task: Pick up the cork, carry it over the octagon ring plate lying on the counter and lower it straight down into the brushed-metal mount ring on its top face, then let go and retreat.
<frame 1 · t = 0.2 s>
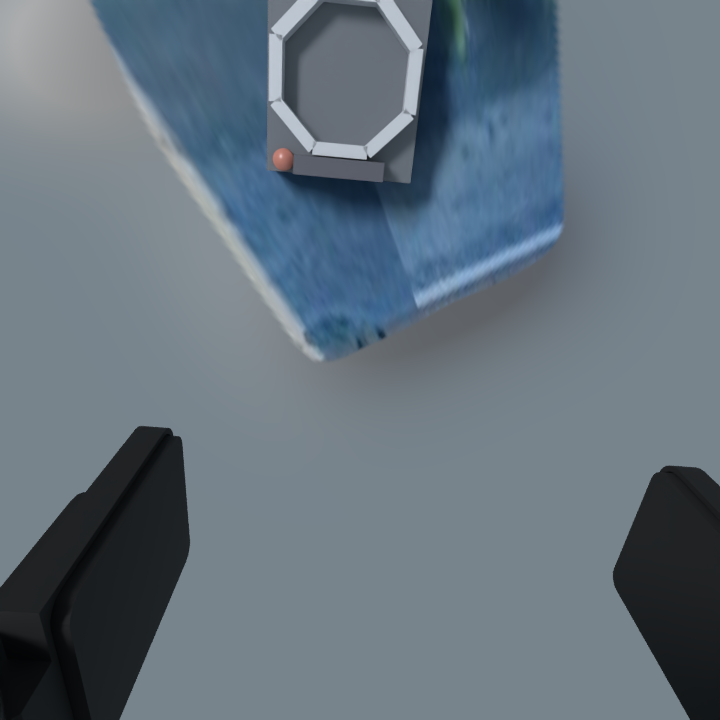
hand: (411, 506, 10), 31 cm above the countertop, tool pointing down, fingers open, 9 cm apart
octagon ring plate: (346, 82, 33), on the countertop
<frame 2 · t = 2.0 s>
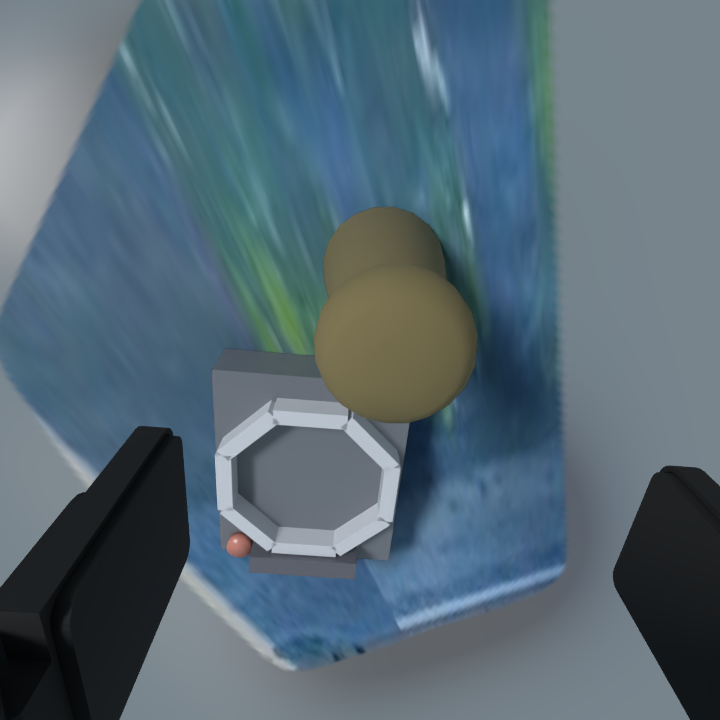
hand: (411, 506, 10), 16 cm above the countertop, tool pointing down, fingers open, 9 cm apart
octagon ring plate: (313, 447, 28), on the countertop
cork: (383, 268, 24), on the countertop
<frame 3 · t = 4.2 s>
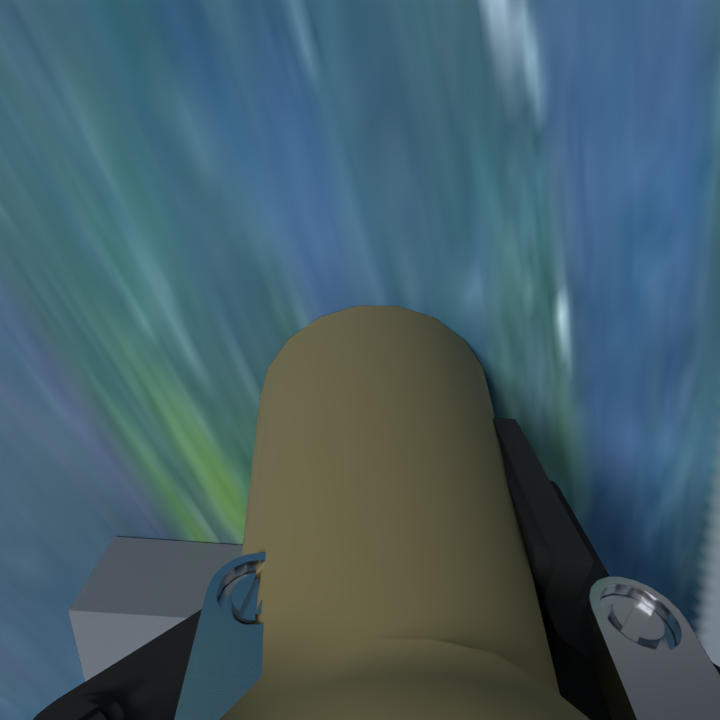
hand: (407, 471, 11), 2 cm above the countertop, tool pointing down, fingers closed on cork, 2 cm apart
octagon ring plate: (278, 673, 17), on the countertop
cork: (374, 410, 13), on the countertop, touching gripper
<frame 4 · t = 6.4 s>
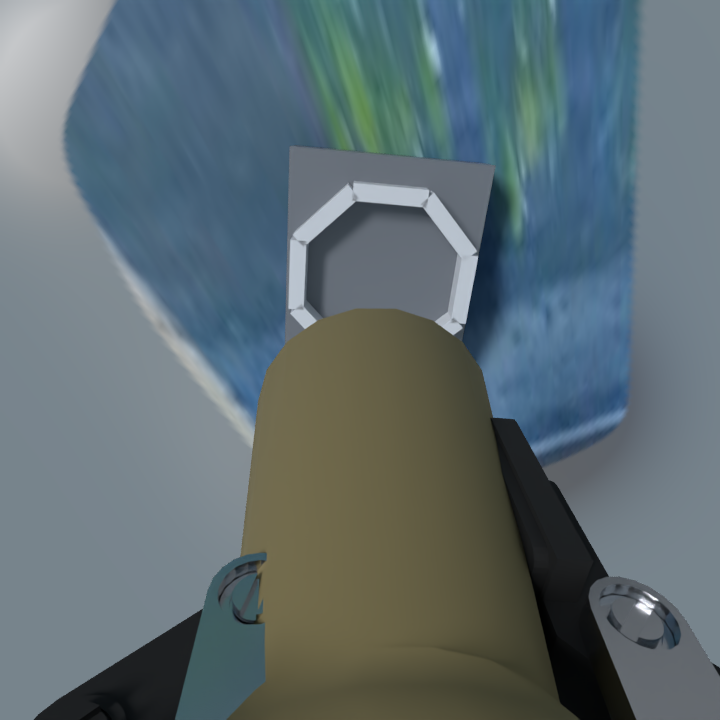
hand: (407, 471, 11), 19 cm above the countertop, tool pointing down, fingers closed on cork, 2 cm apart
octagon ring plate: (378, 265, 28), on the countertop
cork: (373, 413, 13), point 17 cm above the countertop, touching gripper
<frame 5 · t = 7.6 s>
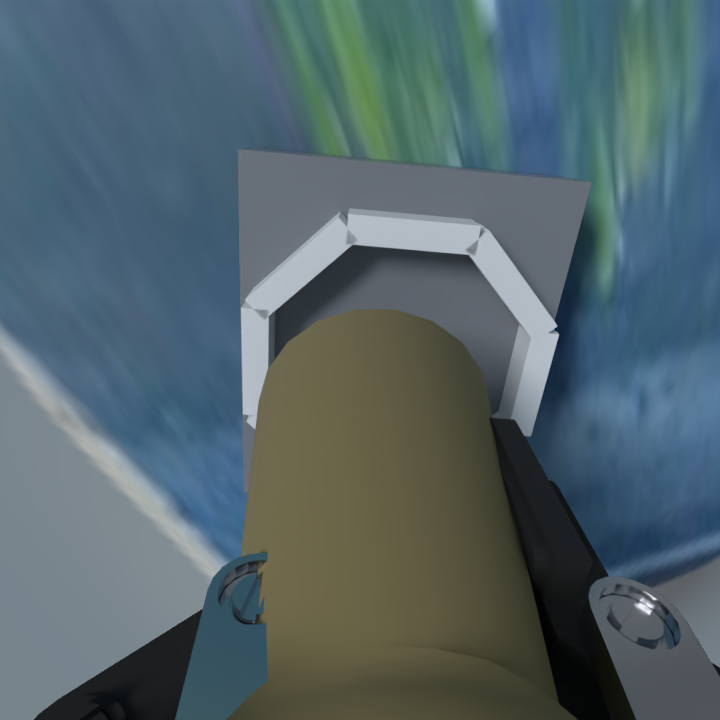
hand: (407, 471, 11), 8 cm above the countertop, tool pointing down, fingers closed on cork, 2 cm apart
octagon ring plate: (388, 332, 18), on the countertop
cork: (373, 413, 13), point 6 cm above the countertop, touching gripper
when the fingers open (6 cm above the countertop, at t = 8.3 s): cork stays where it is, resting on octagon ring plate.
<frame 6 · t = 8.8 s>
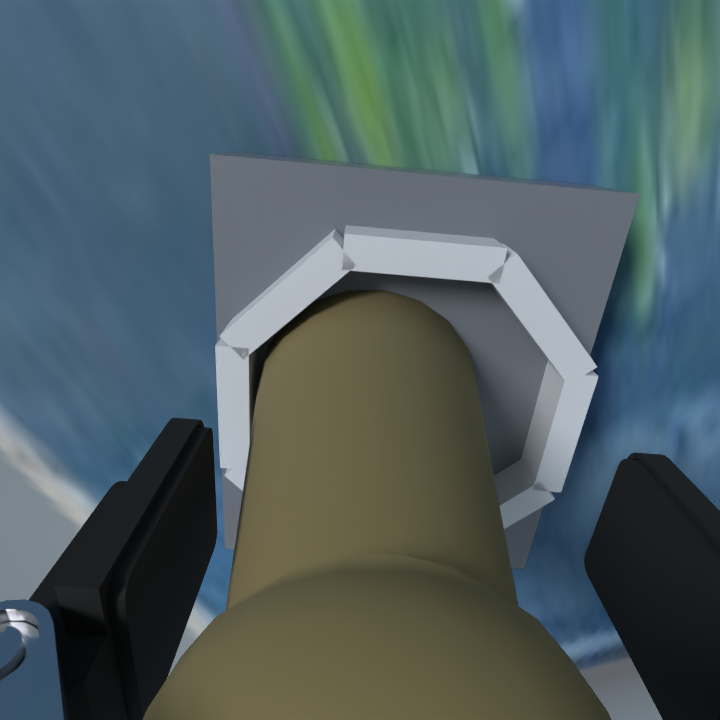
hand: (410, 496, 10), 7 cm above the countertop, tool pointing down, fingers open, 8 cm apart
octagon ring plate: (392, 364, 16), on the countertop
cork: (367, 390, 14), point 2 cm above the countertop, touching octagon ring plate
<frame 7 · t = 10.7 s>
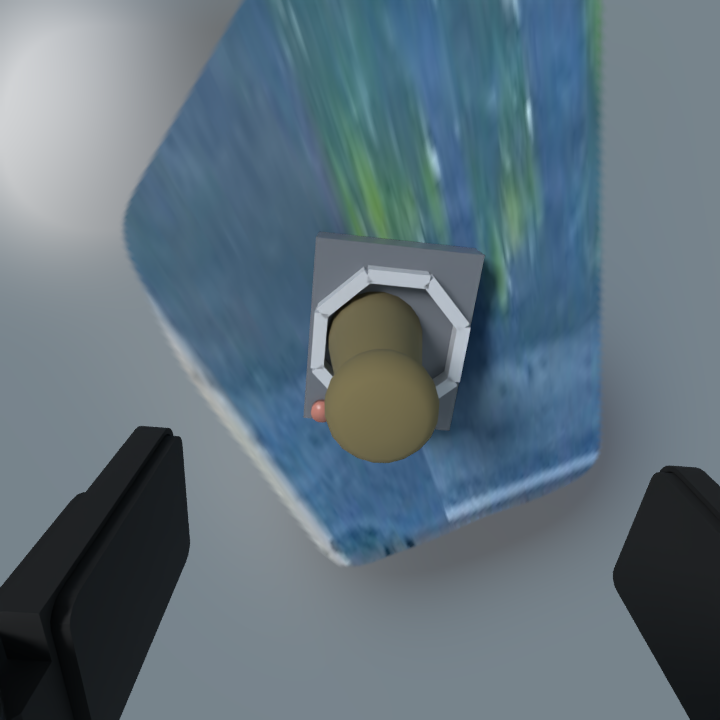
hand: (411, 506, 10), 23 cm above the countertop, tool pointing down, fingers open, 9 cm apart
octagon ring plate: (385, 329, 33), on the countertop
cork: (374, 336, 31), point 2 cm above the countertop, touching octagon ring plate
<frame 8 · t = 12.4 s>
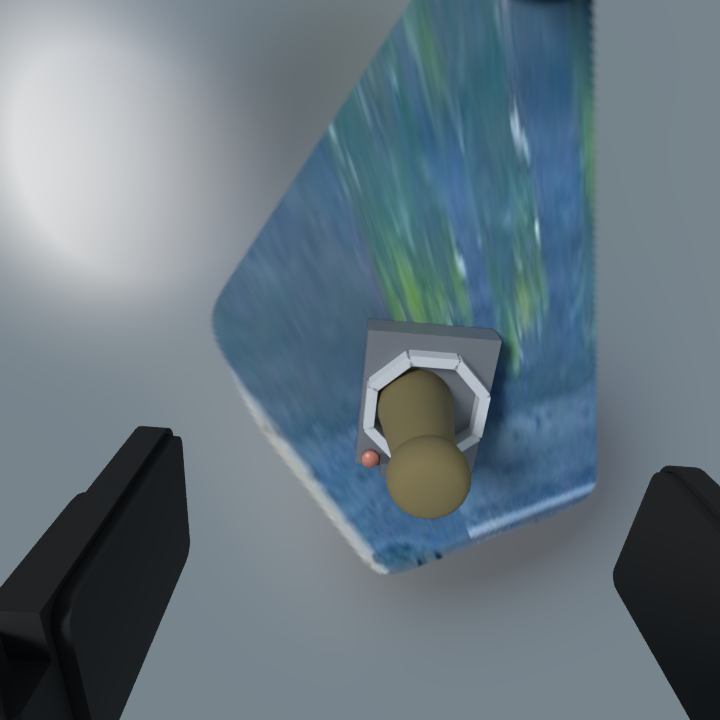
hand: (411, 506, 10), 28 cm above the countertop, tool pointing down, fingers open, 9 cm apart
octagon ring plate: (420, 390, 41), on the countertop
cork: (413, 401, 38), point 2 cm above the countertop, touching octagon ring plate
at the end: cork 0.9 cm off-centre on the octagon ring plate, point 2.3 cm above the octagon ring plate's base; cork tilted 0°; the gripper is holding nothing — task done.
